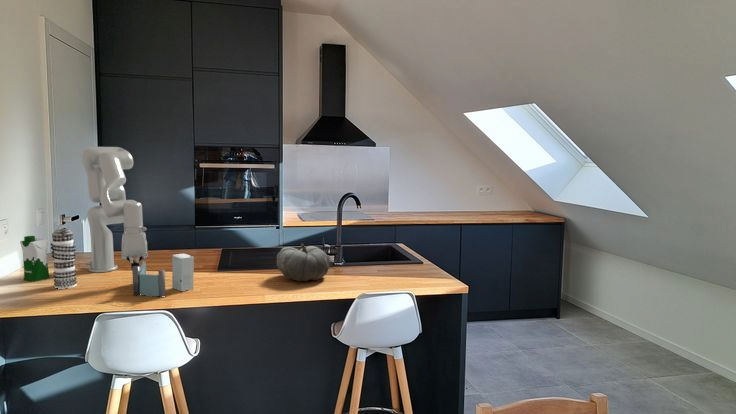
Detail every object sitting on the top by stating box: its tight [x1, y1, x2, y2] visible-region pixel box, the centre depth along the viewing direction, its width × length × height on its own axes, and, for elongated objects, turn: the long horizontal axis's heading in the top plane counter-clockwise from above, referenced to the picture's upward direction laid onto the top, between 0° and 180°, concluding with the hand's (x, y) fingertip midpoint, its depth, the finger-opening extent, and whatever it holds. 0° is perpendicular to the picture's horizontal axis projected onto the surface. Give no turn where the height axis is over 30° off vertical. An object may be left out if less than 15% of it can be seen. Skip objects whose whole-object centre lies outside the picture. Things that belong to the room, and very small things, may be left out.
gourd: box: [276, 243, 331, 282], centre depth 240 cm, size 25×25×17 cm
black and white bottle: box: [49, 228, 78, 290], centre depth 220 cm, size 9×9×25 cm
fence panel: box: [140, 269, 166, 298], centre depth 209 cm, size 11×2×11 cm, turn 81°
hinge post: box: [131, 265, 141, 296], centre depth 210 cm, size 3×3×12 cm
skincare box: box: [171, 252, 195, 292], centre depth 220 cm, size 8×6×15 cm
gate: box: [139, 261, 147, 274], centre depth 221 cm, size 18×2×8 cm, turn 15°
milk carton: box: [19, 235, 51, 282], centre depth 231 cm, size 9×9×20 cm
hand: (135, 271), depth 225 cm, fingers closed
